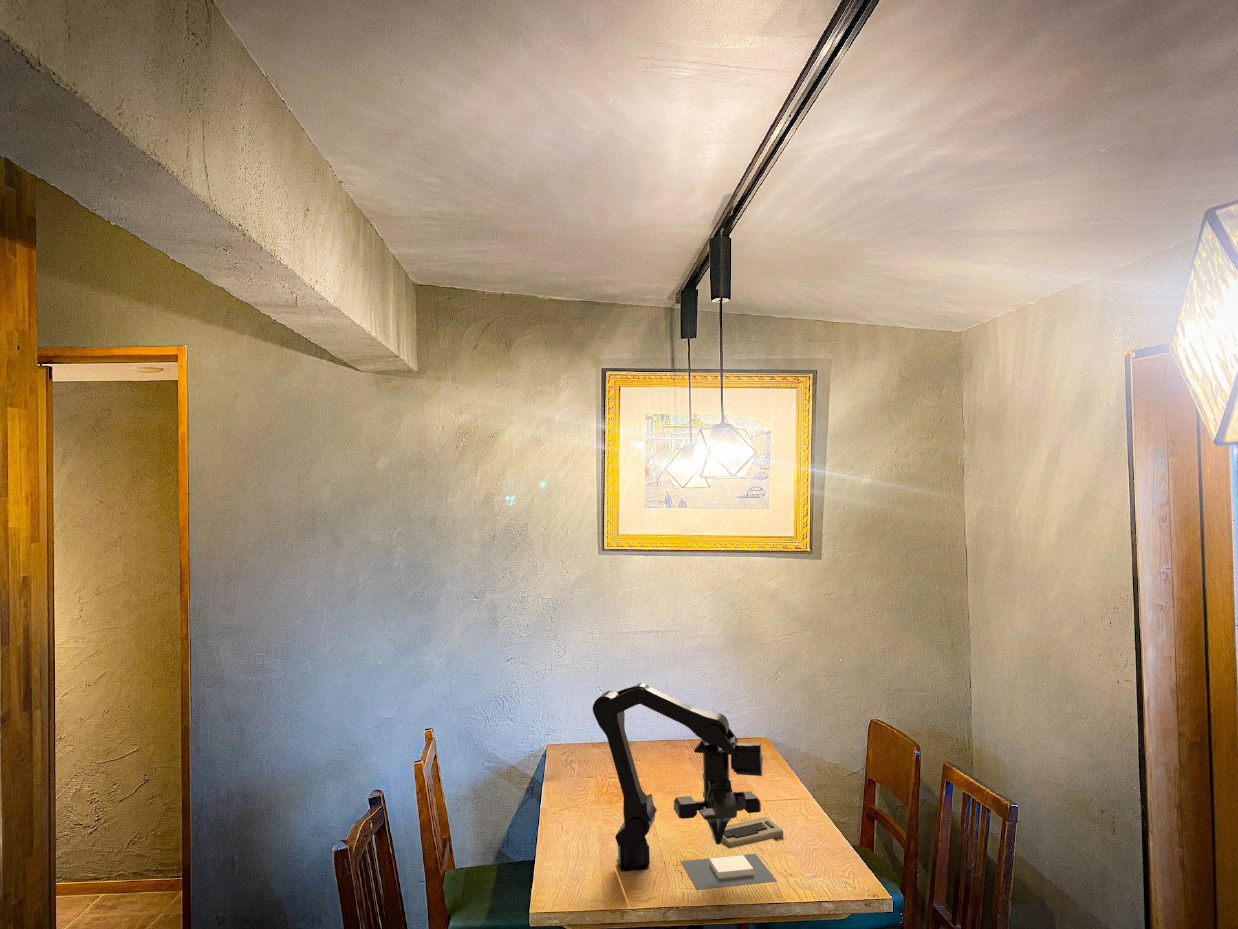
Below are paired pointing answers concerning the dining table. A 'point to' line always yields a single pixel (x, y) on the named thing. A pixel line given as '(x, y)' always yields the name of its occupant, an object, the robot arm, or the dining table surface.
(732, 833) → the computer
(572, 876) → the dining table surface
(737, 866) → the tile
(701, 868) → the mat
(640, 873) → the dining table surface
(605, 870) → the dining table surface
